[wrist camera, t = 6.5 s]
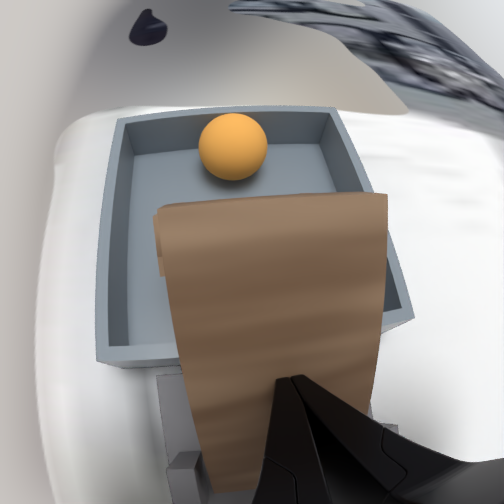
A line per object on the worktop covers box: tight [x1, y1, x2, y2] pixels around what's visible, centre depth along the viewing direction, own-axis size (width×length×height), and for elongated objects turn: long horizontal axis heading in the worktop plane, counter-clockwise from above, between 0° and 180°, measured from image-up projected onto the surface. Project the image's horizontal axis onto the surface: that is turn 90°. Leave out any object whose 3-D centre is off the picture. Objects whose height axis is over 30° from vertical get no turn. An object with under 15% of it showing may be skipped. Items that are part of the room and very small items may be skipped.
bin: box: [95, 106, 415, 368], centre depth 16 cm, size 14×14×4 cm
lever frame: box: [156, 374, 399, 504], centre depth 11 cm, size 10×10×4 cm
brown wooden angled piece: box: [153, 192, 388, 494], centre depth 12 cm, size 8×7×11 cm
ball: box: [199, 113, 268, 180], centre depth 17 cm, size 4×4×4 cm
